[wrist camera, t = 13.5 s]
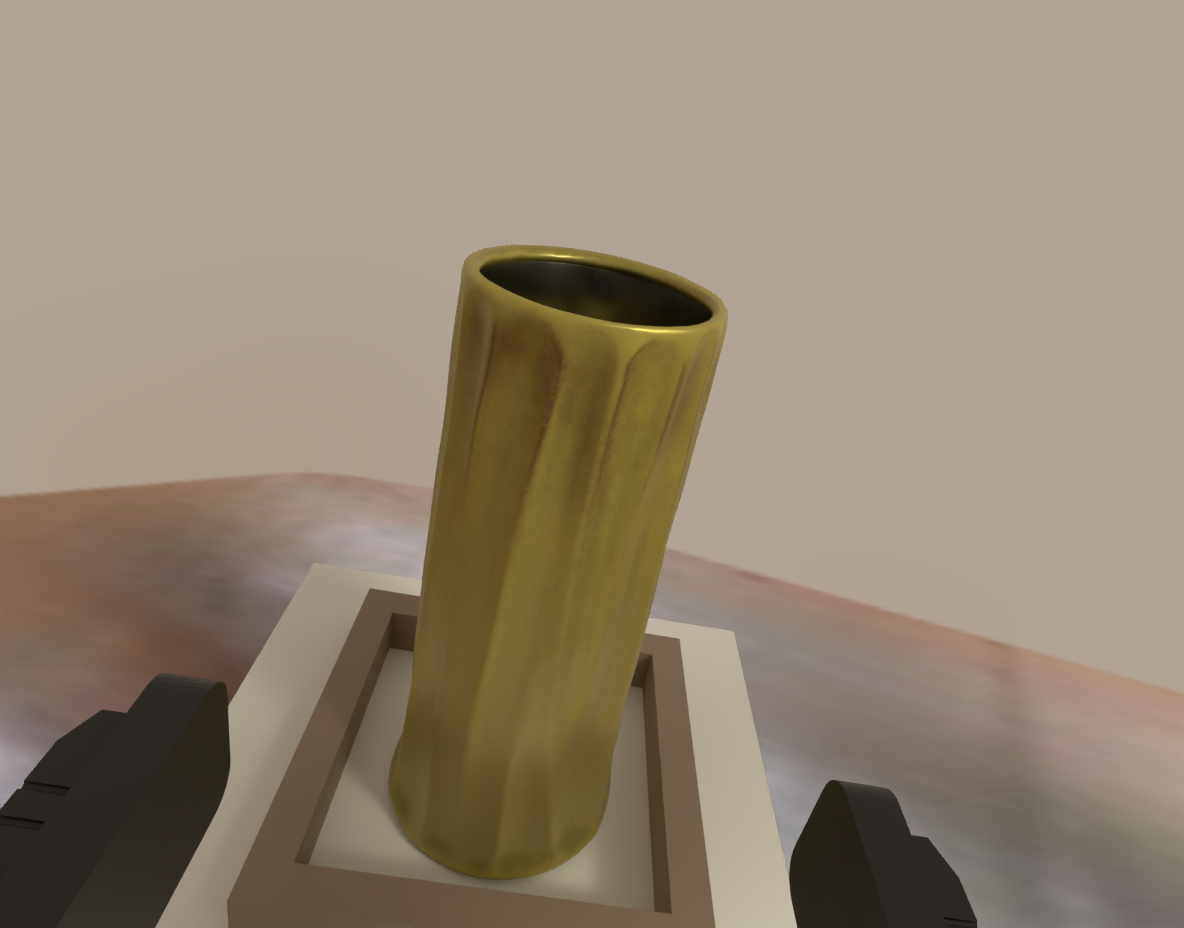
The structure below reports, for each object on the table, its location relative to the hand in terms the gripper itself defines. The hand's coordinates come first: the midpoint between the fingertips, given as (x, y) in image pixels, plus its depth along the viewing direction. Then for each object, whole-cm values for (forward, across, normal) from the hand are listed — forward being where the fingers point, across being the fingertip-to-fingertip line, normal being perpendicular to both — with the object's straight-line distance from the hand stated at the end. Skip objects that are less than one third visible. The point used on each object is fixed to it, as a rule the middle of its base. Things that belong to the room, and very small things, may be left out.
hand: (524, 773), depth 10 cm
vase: (+8, 0, +10) cm, 12 cm away
